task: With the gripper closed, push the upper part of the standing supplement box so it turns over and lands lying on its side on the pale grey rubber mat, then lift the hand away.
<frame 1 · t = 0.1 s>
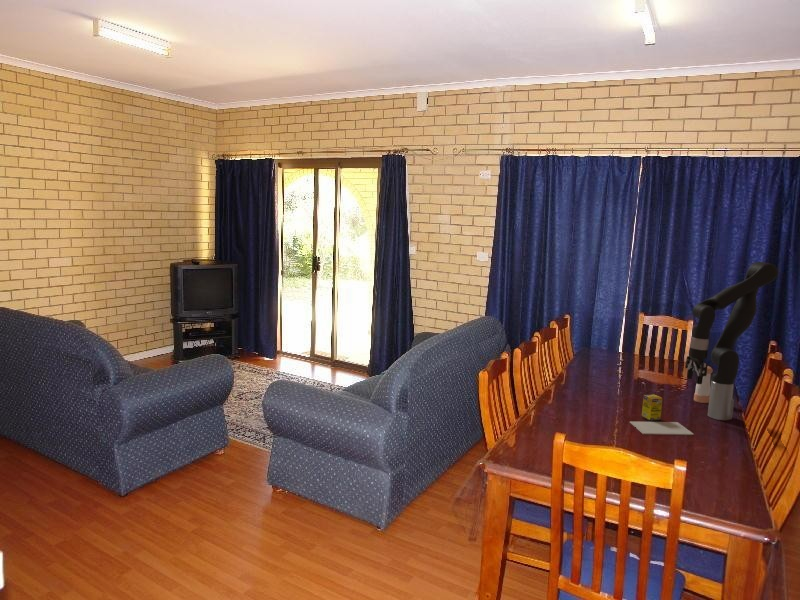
hand: (694, 381, 267), 17 cm above the table, tool pointing down, fingers open, 8 cm apart
supplement box: (650, 419, 265), on the table
mat: (660, 428, 253), on the table
salt shaker: (701, 401, 293), on the table
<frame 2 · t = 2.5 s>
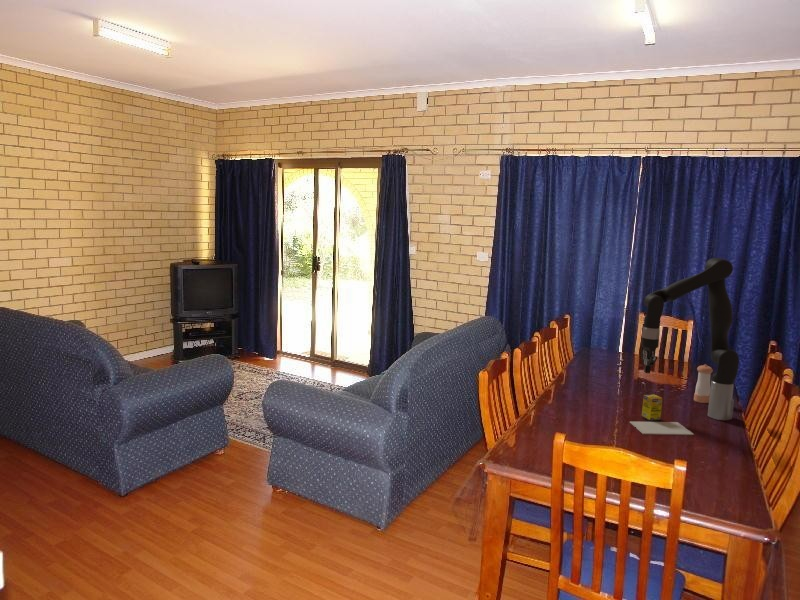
hand: (647, 372, 270), 20 cm above the table, tool pointing down, fingers closed
nothing on the table moved.
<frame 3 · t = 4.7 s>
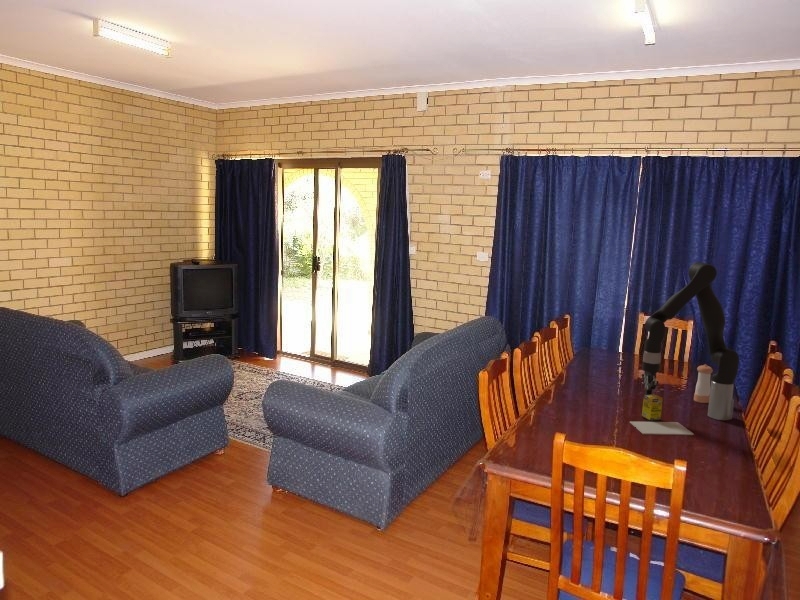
hand: (648, 396, 268), 9 cm above the table, tool pointing down, fingers closed
supplement box: (650, 419, 265), on the table, touching gripper
everything else where it was.
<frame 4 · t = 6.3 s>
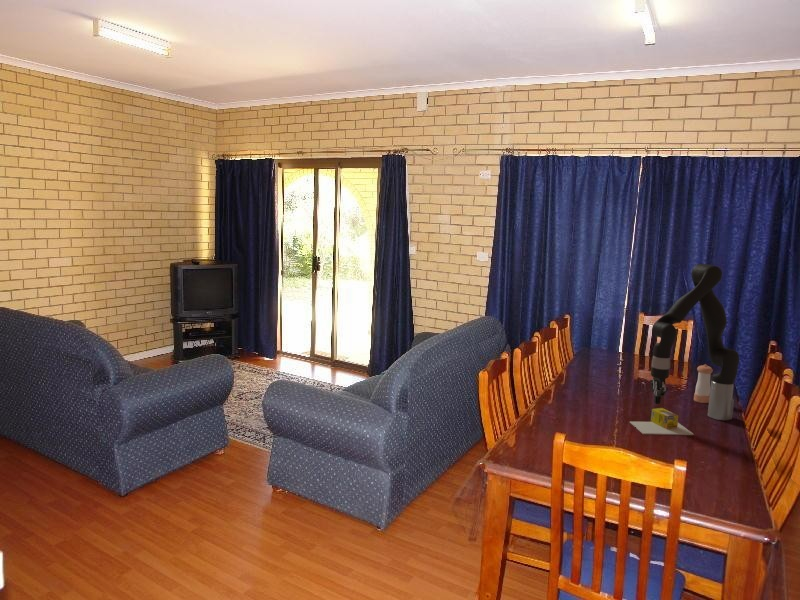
hand: (657, 403, 259), 9 cm above the table, tool pointing down, fingers closed
supplement box: (655, 413, 262), point 3 cm above the table, touching mat
everything else where it was.
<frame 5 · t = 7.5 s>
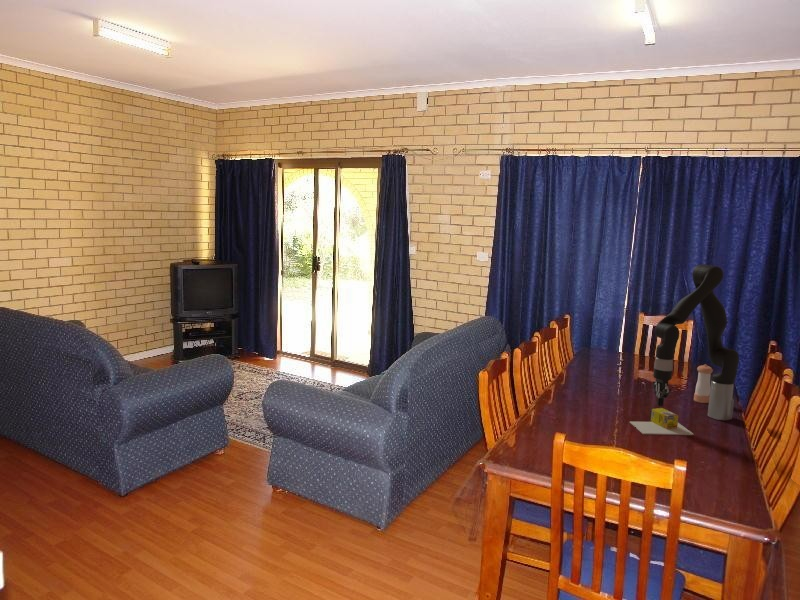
hand: (659, 405, 257), 9 cm above the table, tool pointing down, fingers closed
nothing on the table moved.
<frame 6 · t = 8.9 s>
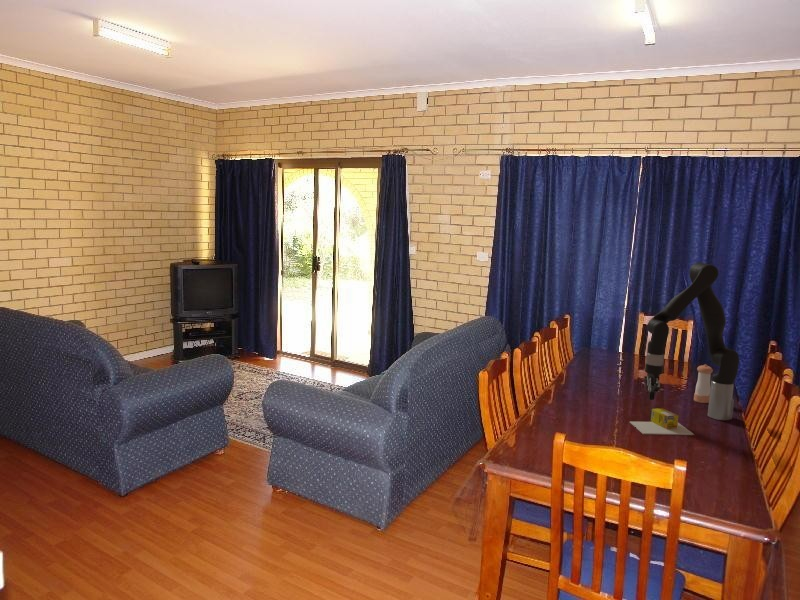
hand: (651, 399, 265), 9 cm above the table, tool pointing down, fingers closed
nothing on the table moved.
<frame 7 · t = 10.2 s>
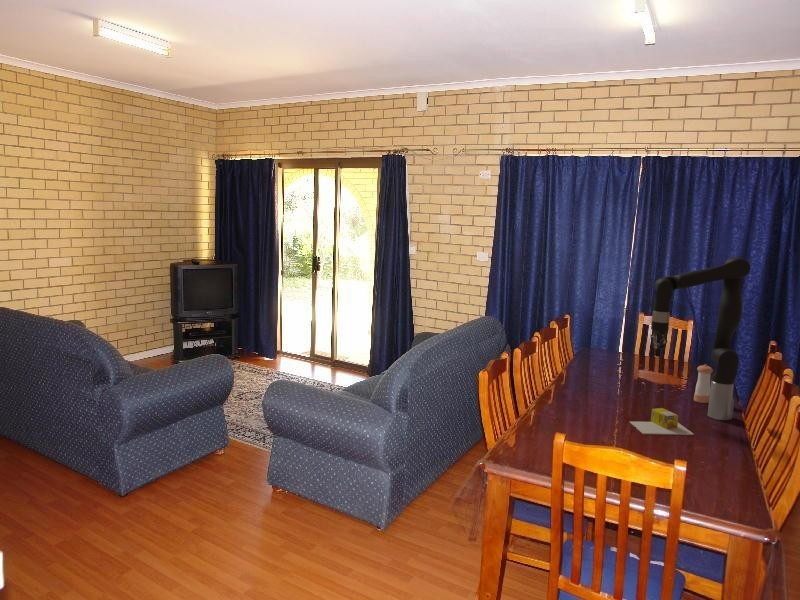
hand: (657, 356, 273), 27 cm above the table, tool pointing down, fingers closed
nothing on the table moved.
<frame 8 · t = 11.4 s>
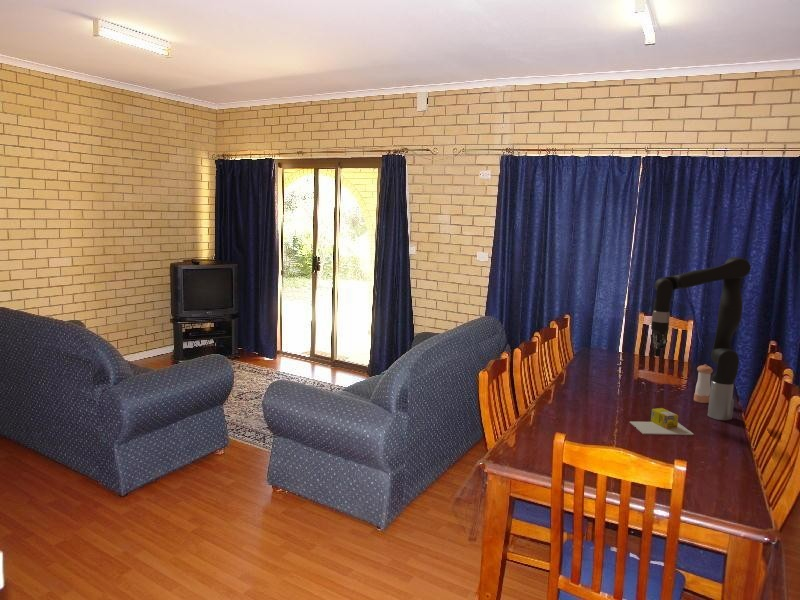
hand: (657, 356, 273), 27 cm above the table, tool pointing down, fingers closed
nothing on the table moved.
at the end: supplement box tilted 89°; supplement box touching mat; supplement box inside the target area (5.7 cm from its centre), point 3.4 cm above the table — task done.
